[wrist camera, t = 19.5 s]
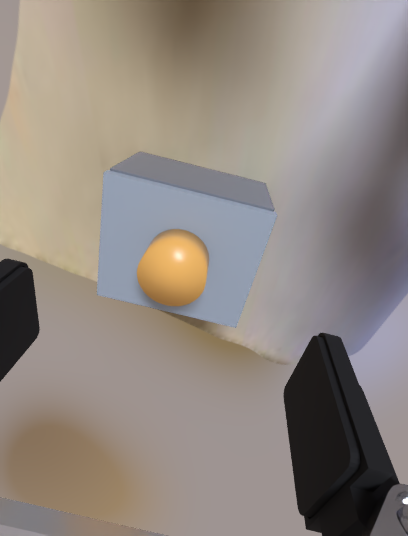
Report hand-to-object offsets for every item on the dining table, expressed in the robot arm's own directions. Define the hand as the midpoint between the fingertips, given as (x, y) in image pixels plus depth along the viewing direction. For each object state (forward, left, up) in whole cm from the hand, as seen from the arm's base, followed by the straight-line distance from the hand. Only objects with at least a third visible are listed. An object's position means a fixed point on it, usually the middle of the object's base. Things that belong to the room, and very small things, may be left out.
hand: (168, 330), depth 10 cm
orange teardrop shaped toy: (+1, +8, -19) cm, 21 cm away
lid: (+2, +8, -20) cm, 22 cm away
